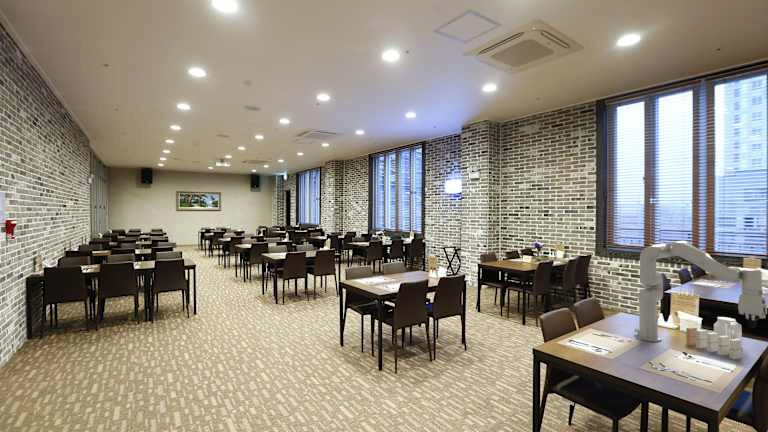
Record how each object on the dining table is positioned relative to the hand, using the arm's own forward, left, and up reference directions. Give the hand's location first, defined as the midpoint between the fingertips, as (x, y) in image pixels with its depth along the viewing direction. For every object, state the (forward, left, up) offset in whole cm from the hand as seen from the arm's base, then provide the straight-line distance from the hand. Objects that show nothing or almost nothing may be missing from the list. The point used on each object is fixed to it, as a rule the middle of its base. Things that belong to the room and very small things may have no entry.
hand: (752, 327), depth 191 cm
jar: (-24, +22, -19) cm, 38 cm away
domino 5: (-7, 0, -19) cm, 20 cm away
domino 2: (-24, 0, -19) cm, 30 cm away
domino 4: (-13, 0, -19) cm, 23 cm away
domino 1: (-29, 0, -19) cm, 35 cm away
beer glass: (-16, +14, -19) cm, 29 cm away
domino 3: (-18, 0, -19) cm, 26 cm away
